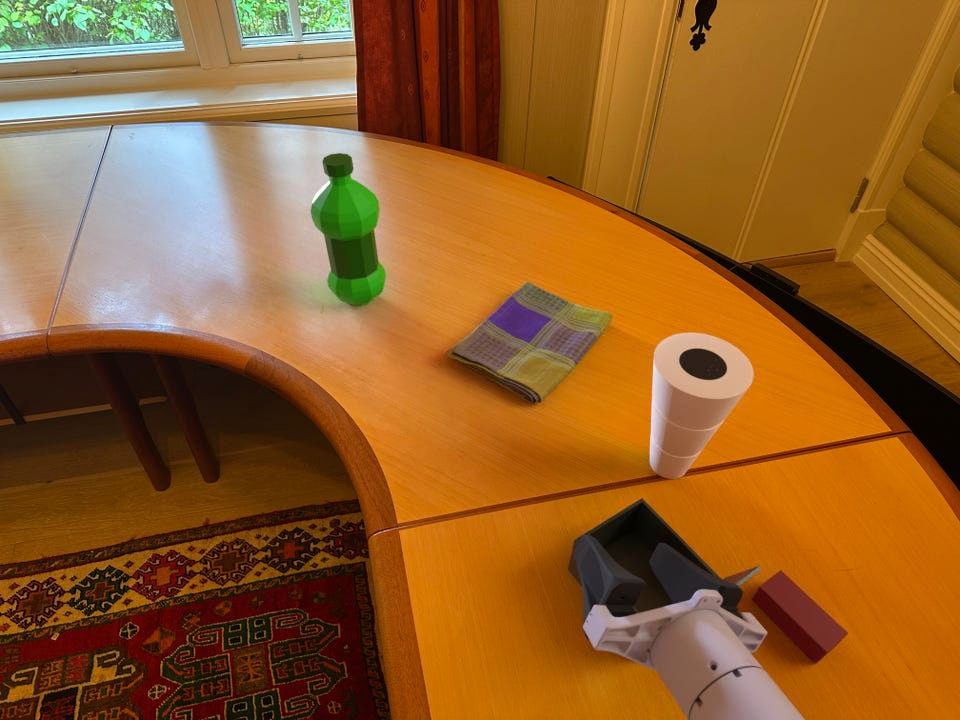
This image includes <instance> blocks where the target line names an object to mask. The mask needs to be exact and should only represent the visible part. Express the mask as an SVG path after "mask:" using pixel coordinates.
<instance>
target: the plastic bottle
mask: <svg viewBox="0 0 960 720" xmlns="http://www.w3.org/2000/svg"><path fill="white" fill-rule="evenodd" d="M322 167H323V172H324V174H325V175H326V176H328V181H327V183H325V184H324V185H323V186H322V187H321V188H320V189H319V191H317V192H316V193H315V195H314V198H313V200H312V203H311V208H310V216H311V219H312V223H313V224H314V226H315V228H316V229H317V230H319V232H320V233H322V234H323V237H324V242H325V247H326V251H327V257H328V261H329V267H330V269H329V273H328V277H327V286H328V288H329V290H330V291H331V292H332V293H333V294H334V295H335V297H337V299H338V300H339V301H341V302H344V303H348V304H349V305H351V306H357V307H358V306H364V305H368V304H370V303H371V302H372V301H374V300H375V299H376V298H377V297H378V296H380V295H381V294H382V293H383V291H384V288H385V283H386V279H387V274H386V269H385V268H384V266H383V264H381V262H380V261H379V255H378V249H377V240H376V233H375V229H376V228H377V225H378V221H379V217H380V201H379V199H378V197H377V196H376V194H375V193H374V192H373V191H371V190H370V189H369V187H367V186H365V185H363V184H362V183H361V182H359V181H357V180H355V179H353V178H352V174H353V173H354V163H353V157H352V156H351V155H349V154H348V153H341V152H337V153H331V154H328V155H326V156H325V157H323V158H322Z"/></svg>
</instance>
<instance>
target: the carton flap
mask: <svg viewBox="0 0 960 720" xmlns="http://www.w3.org/2000/svg"><path fill="white" fill-rule="evenodd" d="M761 571H762V568H761V567H760V566H759V565H757V566H754V567H751V568H749V569H746V570H742V571H740V572H738V573H734V574H731V575H729V576H726V577H723V578H722V580H725V581H727V582H730V583H733V584H736V585H738V586H739V587H740V588H741V586H742V585H743V584H745V583H747V582H748V581H749V580H751V579H752V578H753V577H754V576H755V575H756V574H759V572H761Z"/></svg>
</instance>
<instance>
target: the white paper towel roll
mask: <svg viewBox="0 0 960 720" xmlns="http://www.w3.org/2000/svg"><path fill="white" fill-rule="evenodd" d="M652 364H653V365H652V385H651V386H652V387H651V388H652V389H651V394H652V395H651V413H650V414H651V415H650V417H651V419H650V437H649V439H650V441H649V460H648V461H649V465H650V468H651V470H652V471H653V472H654V473H655V474H656V475H658V476H659V477H661V478H664V479H669V480H676V479H677V480H678V479H680V478H682V477H683V476H685V474H686V473H687V472H688V471H689V469H690V468H691V466H692V465H693V463H694V462H695V461H696V460H697V459H698V457H699V456H700V454H701V453H702V451H703V450H704V448H705V447H706V446H707V444H708V443H709V442H710V440H711V439H712V438H713V436H714V435H715V434H716V432H717V431H718V429H720V427H721V426H722V424H723V423H724V422H725V420H726V418H728V416H729V415H730V413H732V411H733V410H734V408H735V407H736V406H737V405H738V403H739V401H741V399H742V397H743V396H744V395H745V393H746V392H747V391H748V389H749V388H750V387H751V386H752V383H753V381H754V368H753V365H752V363H751V361H750V360H749V358H748V357H747V356H746V354H744V352H742V350H740V349H739V347H737V346H735V345H733V344H732V343H730V342H728V341H726V340H724V339H722V338H720V337H717V336H714V335H711V334H706V333H700V332H681V333H675V334H673V335H670V336H668V337H666V338H664V339H662V340H661V341H660V342H659V343H658V344H657V346H656V347H655V349H654V352H653V363H652Z"/></svg>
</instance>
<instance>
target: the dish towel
mask: <svg viewBox="0 0 960 720" xmlns="http://www.w3.org/2000/svg"><path fill="white" fill-rule="evenodd" d="M612 319H613V313H611V312H609V311H603V310H600V309H595V308H590V307H587V306H582V305H580V304H576V303H573V302H570V301H569V300H566V299H565V298H563V297H560V296H559V295H556V294H554V293H552V292H549V291H547V290H545V289H544V288H541V287H539V286H537V285H535V284H534V283H531V282H530V281H525V282H524V283H523V284H522V285H521V286H520V287H519V288H518V289H517V290H515V292H513V293H512V294H511V295H510V296H509V297H508V298H507V299H506V300H505V301H504V302H503V303H502V304H501V305H500V306H499V307H498V308H497V309H496V310H495V311H494V312H493V313H491V314H490V315H489V316H488V317H487V318H485V320H484V321H483V322H482V323H481V324H479V325H478V326H477V327H475V328H474V329H473V330H472V331H471V332H470V333H469V334H468V335H467V336H465V337H463V338H462V339H461V340H460V341H459V342H457V343H456V344H454V345H452V346H451V347H450V348H448V349H447V350H446V351H445V353H444V354H445V356H446V357H448V358H451V359H452V360H454V361H456V362H458V363H460V364H461V365H464V366H466V367H468V368H470V369H472V370H473V371H475V372H477V373H479V374H481V375H483V376H484V377H486V378H487V379H489V380H490V381H492V382H494V383H495V384H497V385H498V386H500V387H502V388H504V389H505V390H507V391H509V392H510V393H512V394H514V395H515V396H518V397H519V398H521V399H522V400H524V401H525V402H528V403H530V404H537V403H542V401H543V400H545V398H546V397H547V396H549V394H551V393H552V392H553V391H554V390H555V389H556V388H557V386H558V385H559V384H561V382H562V381H563V380H564V379H565V378H566V377H567V375H569V373H570V372H572V371H573V369H575V367H576V366H577V365H578V363H580V361H581V360H582V358H583V357H584V356H585V355H586V354H587V352H588V350H590V349H591V347H592V346H593V345H594V343H595V342H597V340H598V338H599V337H600V336H601V335H602V334H603V332H604V331H605V329H606V328H607V326H608V325H609V323H610V322H611V321H612Z"/></svg>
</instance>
